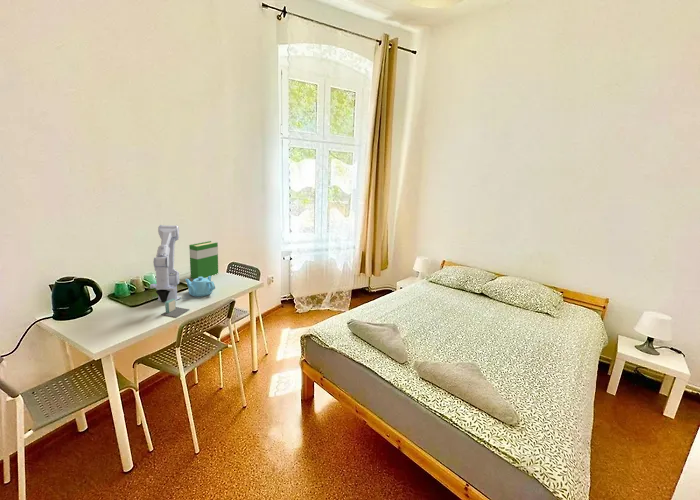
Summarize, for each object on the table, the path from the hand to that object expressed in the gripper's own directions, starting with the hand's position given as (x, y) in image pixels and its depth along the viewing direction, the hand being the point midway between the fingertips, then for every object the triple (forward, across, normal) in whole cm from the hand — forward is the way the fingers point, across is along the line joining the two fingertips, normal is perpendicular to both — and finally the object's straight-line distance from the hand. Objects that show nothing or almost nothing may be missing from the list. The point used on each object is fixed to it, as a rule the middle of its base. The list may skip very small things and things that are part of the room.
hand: (164, 302), depth 169 cm
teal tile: (+4, +4, 0) cm, 6 cm away
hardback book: (+5, -17, +57) cm, 60 cm away
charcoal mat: (+5, +7, 0) cm, 8 cm away
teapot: (+5, +1, +28) cm, 29 cm away
